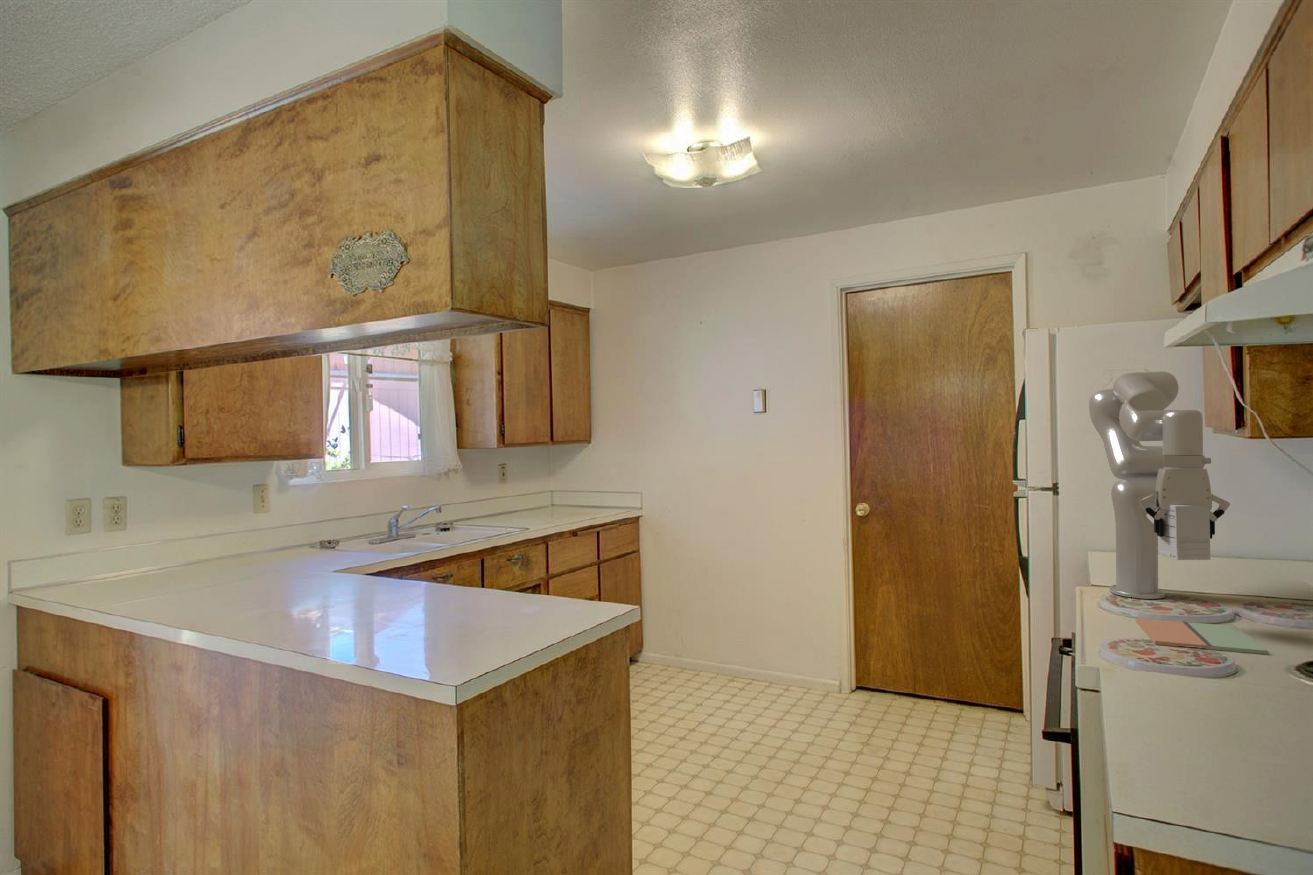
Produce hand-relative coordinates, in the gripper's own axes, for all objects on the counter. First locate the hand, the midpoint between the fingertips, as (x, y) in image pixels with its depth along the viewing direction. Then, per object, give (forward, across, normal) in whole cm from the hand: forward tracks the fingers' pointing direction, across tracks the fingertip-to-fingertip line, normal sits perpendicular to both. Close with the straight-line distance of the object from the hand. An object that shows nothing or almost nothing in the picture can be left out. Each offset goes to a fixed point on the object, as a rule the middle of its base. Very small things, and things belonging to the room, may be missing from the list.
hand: (1183, 536), depth 163 cm
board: (+21, 0, +9) cm, 23 cm away
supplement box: (+5, 0, 0) cm, 5 cm away
